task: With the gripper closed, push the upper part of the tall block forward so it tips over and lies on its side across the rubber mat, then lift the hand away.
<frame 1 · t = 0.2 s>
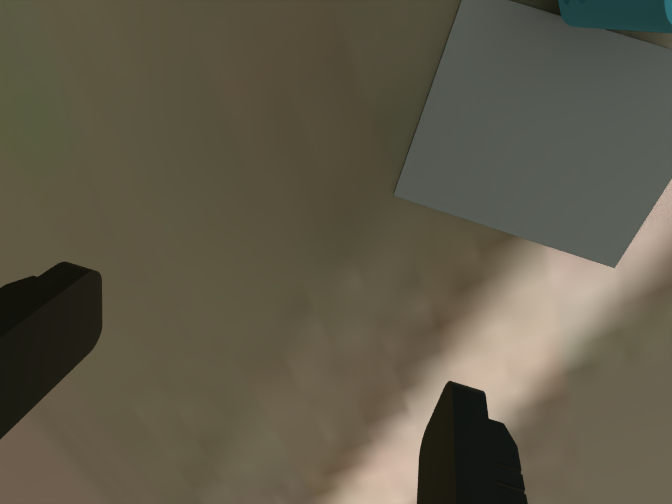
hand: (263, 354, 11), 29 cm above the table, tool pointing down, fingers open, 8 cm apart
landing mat: (545, 138, 35), on the table
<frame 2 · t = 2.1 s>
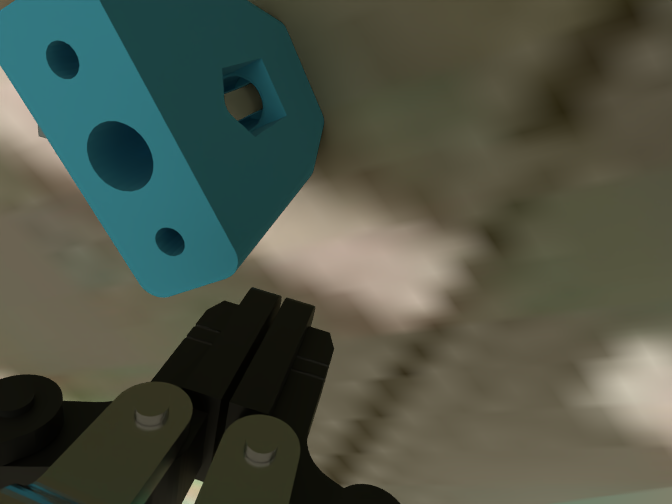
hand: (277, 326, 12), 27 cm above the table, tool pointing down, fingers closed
block: (276, 86, 36), on the table
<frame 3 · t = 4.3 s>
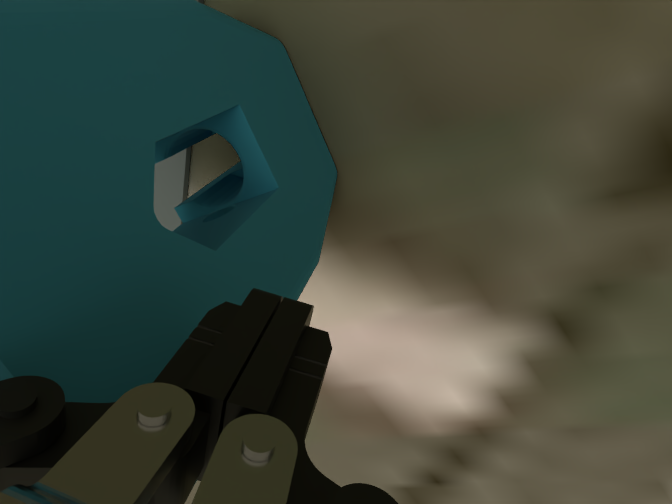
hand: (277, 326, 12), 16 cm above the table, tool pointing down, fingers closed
block: (272, 126, 26), on the table, touching gripper
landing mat: (69, 70, 27), on the table
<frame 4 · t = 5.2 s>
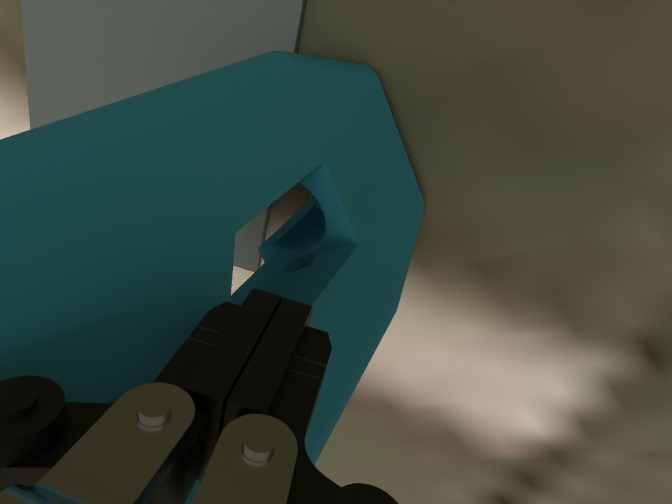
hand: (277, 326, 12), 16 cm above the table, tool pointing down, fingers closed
block: (361, 154, 26), on the table
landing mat: (155, 93, 27), on the table
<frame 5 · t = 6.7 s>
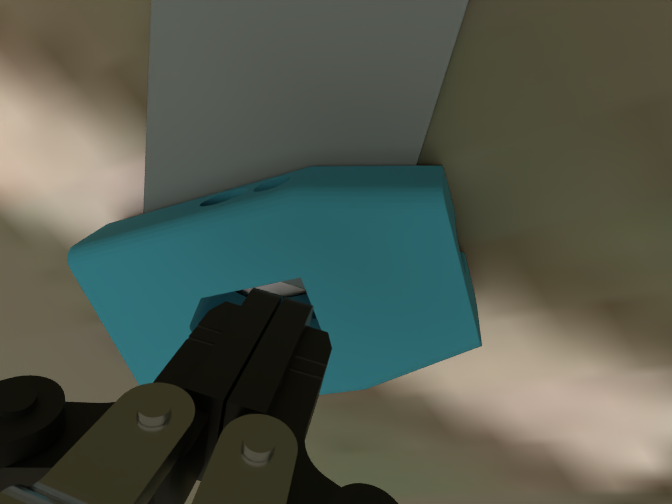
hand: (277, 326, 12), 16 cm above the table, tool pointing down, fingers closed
block: (465, 254, 24), point 3 cm above the table, touching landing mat
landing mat: (281, 130, 26), on the table
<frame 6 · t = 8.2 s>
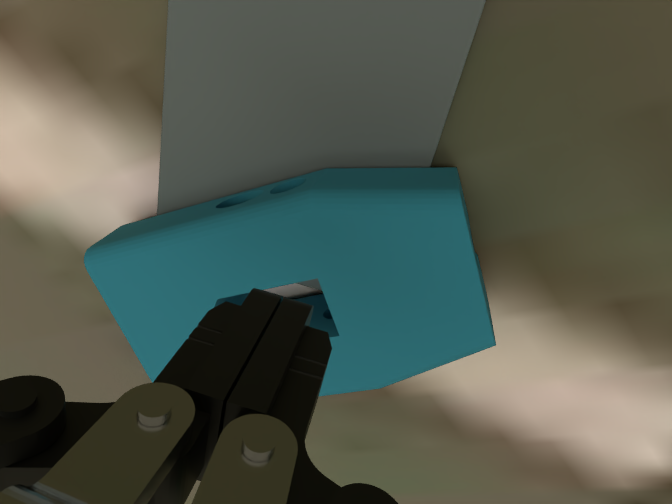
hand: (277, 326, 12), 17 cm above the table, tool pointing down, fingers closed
block: (480, 254, 24), point 3 cm above the table, touching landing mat
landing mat: (296, 132, 27), on the table
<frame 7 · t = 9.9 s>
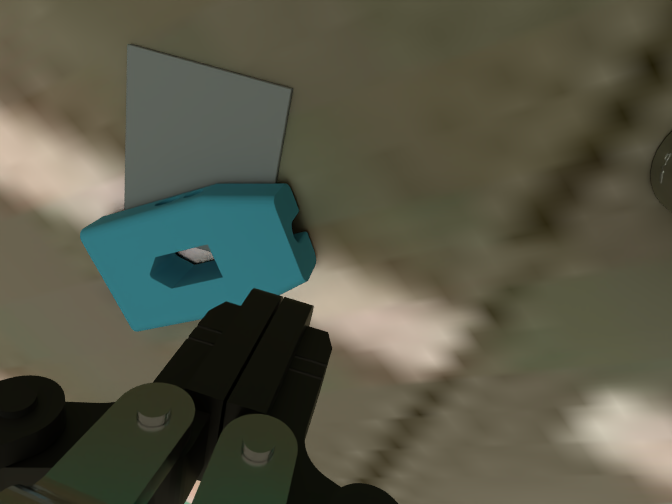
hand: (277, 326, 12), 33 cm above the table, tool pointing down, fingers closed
block: (298, 231, 44), point 3 cm above the table, touching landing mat
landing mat: (201, 162, 46), on the table
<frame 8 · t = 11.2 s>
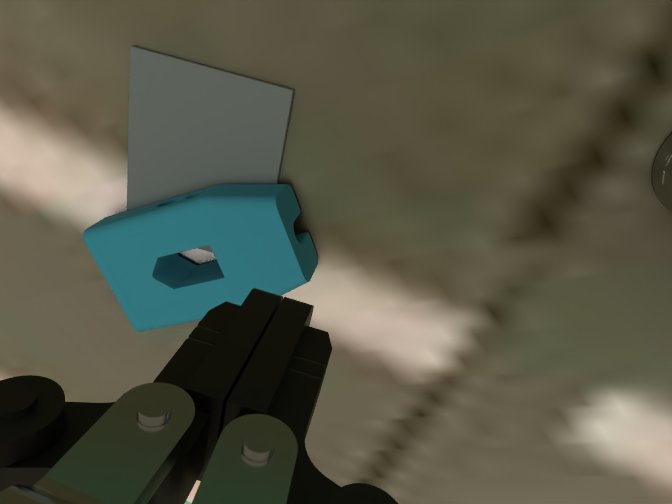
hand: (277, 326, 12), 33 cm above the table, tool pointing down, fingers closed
block: (300, 232, 44), point 3 cm above the table, touching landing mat
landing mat: (203, 163, 47), on the table
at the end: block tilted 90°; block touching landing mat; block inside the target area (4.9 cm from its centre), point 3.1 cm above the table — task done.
